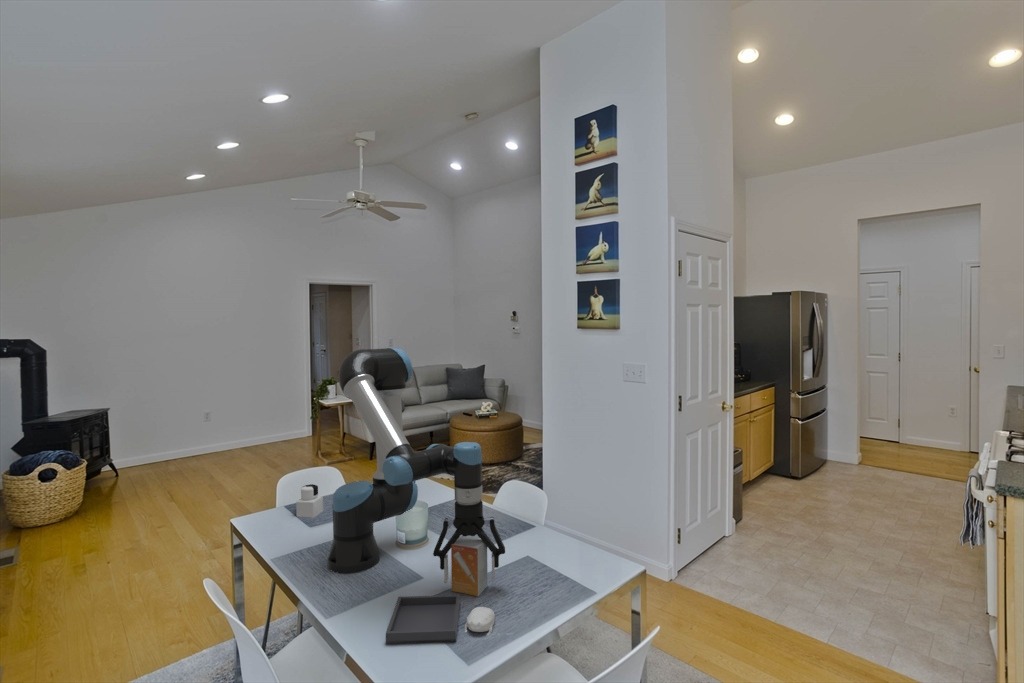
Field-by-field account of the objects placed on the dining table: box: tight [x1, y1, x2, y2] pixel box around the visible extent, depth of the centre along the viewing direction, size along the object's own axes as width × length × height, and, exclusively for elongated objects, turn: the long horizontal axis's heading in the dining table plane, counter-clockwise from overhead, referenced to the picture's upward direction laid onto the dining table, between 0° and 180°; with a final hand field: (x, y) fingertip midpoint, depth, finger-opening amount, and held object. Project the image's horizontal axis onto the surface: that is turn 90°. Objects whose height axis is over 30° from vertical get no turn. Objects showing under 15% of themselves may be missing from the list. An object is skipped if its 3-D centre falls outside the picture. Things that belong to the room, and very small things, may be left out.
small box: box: [450, 535, 489, 597], centre depth 136 cm, size 8×6×13 cm
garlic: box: [464, 606, 496, 636], centre depth 119 cm, size 8×7×4 cm
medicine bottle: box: [295, 484, 324, 519], centre depth 191 cm, size 7×7×12 cm
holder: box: [385, 594, 461, 645], centre depth 120 cm, size 16×16×2 cm
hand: (469, 579), depth 136 cm, fingers open, 12 cm apart
